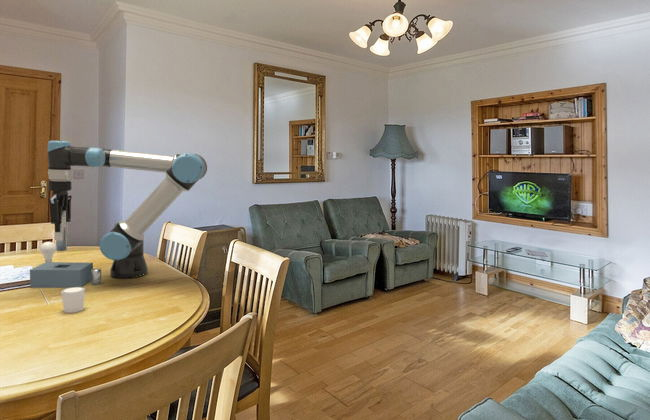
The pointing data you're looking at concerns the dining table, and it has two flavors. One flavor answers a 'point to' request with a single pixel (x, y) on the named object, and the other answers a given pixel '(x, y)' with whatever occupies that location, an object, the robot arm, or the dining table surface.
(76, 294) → the shot glass
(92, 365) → the dining table surface
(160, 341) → the dining table surface
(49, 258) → the lightbulb
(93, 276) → the short pin
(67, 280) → the hole block
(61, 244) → the tall pin
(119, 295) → the dining table surface
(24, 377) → the dining table surface
